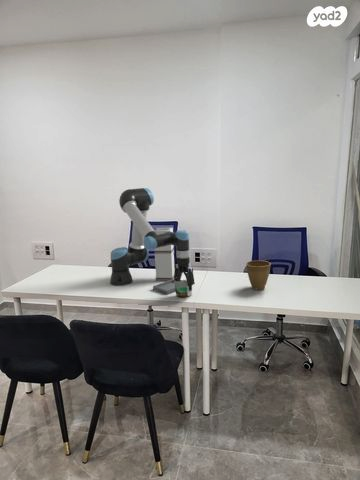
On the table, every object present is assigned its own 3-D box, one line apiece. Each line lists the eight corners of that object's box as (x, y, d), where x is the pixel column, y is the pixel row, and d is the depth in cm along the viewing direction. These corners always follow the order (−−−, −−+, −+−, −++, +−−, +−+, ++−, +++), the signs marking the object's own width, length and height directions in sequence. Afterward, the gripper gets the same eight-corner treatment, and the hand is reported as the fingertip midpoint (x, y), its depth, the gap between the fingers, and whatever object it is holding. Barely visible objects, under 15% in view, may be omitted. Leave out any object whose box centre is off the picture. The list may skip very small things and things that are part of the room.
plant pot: (275, 287, 214) (275, 262, 211) (261, 293, 204) (261, 268, 201) (255, 282, 225) (255, 258, 222) (241, 288, 215) (241, 263, 212)
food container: (175, 299, 201) (175, 283, 199) (173, 295, 207) (173, 280, 204) (196, 297, 204) (195, 281, 201) (193, 293, 209) (193, 277, 207)
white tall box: (174, 275, 245) (172, 227, 238) (172, 280, 235) (170, 230, 228) (159, 275, 247) (156, 228, 240) (156, 280, 237) (153, 230, 230)
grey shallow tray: (153, 289, 219) (152, 286, 219) (173, 282, 231) (173, 279, 230) (167, 294, 209) (167, 290, 209) (187, 287, 221) (187, 283, 221)
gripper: (166, 255, 205) (168, 291, 210) (191, 261, 191) (192, 299, 195) (175, 253, 210) (177, 288, 215) (200, 258, 196) (201, 296, 200)
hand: (184, 293), depth 205 cm, fingers closed on food container, 8 cm apart
